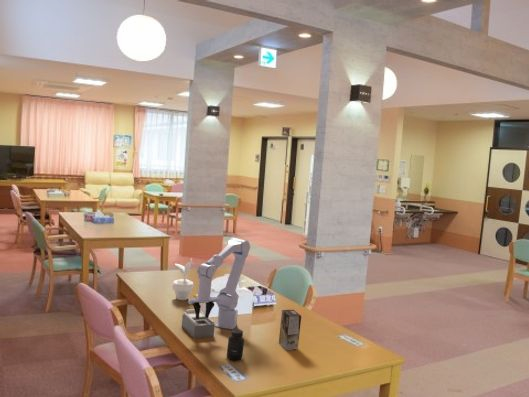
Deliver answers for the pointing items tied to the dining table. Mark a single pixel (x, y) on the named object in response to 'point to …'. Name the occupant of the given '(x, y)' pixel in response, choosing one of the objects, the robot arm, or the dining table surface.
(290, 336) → the coffee box
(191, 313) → the lid
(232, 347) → the supplement bottle
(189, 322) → the housing
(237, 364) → the dining table surface
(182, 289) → the potted plant
